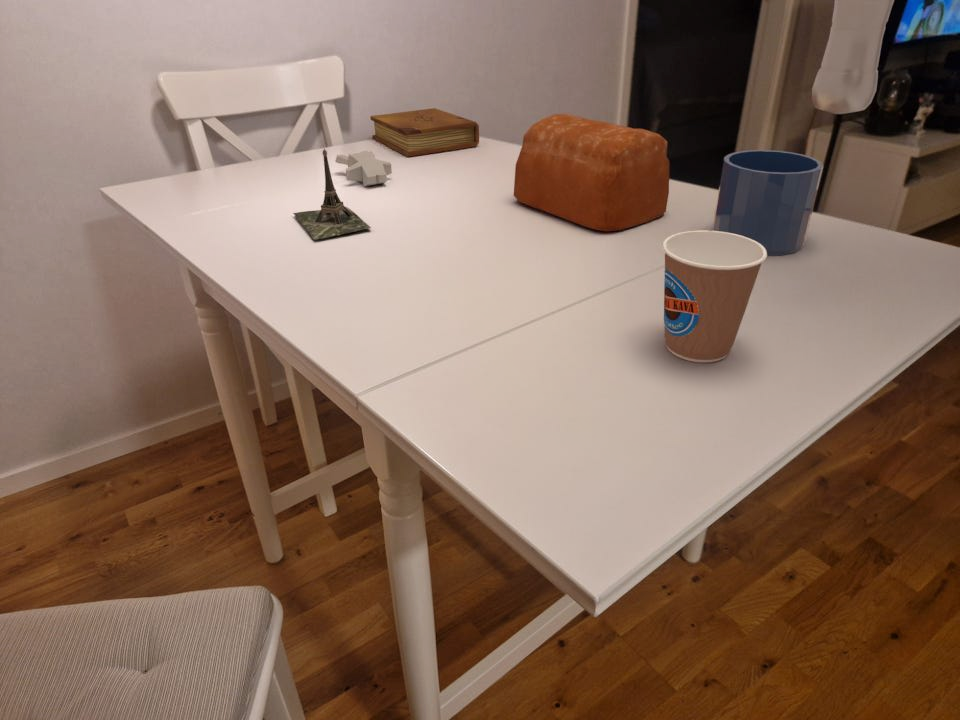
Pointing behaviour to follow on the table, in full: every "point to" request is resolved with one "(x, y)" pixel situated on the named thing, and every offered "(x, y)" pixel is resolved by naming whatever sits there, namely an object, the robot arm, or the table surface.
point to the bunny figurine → (365, 168)
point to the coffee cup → (707, 291)
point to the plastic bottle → (851, 56)
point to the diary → (425, 131)
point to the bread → (593, 172)
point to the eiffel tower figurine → (330, 213)
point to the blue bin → (768, 198)
